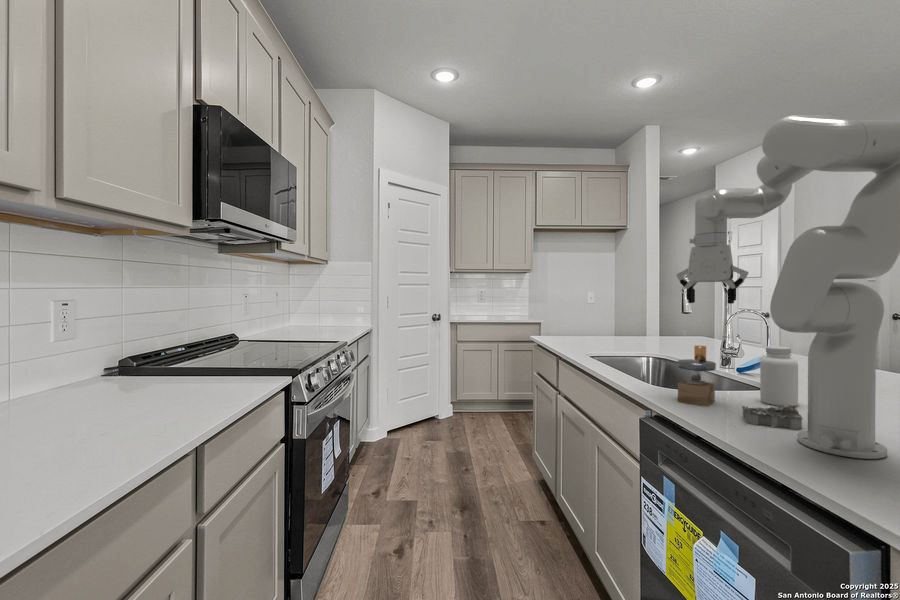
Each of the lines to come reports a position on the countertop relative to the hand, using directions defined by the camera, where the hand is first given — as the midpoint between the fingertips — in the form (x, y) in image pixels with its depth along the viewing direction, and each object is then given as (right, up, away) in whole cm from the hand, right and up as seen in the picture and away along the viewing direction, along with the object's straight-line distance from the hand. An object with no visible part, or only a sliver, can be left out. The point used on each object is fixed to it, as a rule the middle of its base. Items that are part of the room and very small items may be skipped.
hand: (710, 303), depth 117 cm
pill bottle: (+15, -27, -4) cm, 31 cm away
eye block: (-5, -27, -2) cm, 27 cm away
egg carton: (+1, -28, -21) cm, 34 cm away
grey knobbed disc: (-5, -21, -1) cm, 21 cm away
